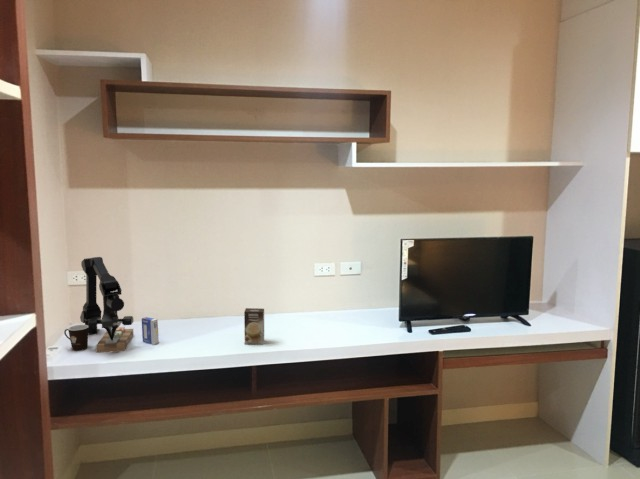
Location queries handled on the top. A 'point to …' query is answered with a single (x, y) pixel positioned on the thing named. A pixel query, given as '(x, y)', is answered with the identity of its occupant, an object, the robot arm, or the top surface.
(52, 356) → the top surface
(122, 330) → the two-pip button
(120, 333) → the three-pip button
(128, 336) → the button board
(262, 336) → the coffee box
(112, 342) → the one-pip button
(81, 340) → the coffee mug
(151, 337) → the walkman
